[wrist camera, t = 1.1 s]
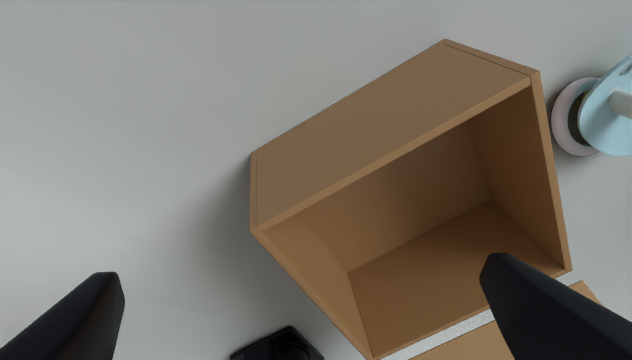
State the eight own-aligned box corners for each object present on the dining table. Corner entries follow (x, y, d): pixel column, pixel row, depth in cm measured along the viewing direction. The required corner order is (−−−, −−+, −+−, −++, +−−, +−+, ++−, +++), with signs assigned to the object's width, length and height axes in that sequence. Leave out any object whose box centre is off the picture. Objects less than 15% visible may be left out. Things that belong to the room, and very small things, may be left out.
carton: (494, 197, 25) (572, 270, 19) (343, 274, 27) (370, 364, 21) (445, 37, 19) (540, 70, 13) (250, 153, 21) (248, 231, 14)
